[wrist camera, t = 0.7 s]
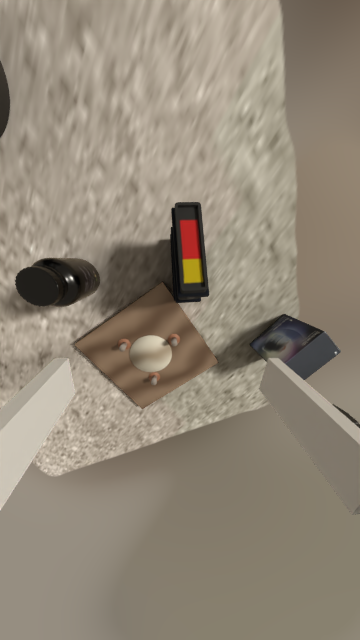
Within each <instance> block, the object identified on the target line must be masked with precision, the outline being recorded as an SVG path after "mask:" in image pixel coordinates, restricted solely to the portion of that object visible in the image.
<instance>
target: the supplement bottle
mask: <svg viewBox="0 0 360 640" xmlns="http://www.w3.org/2000/svg"><path fill="white" fill-rule="evenodd" d="M15 282H16V284H15V285H16V289H17V290H18V293H19V294H20V296H22V297H23V299H25V300H26V301H27V302H30V303H31V304H34V305H36V306H37V305H38V306H49V305H51V306H56V307H64V306H69V305H71V304H73V303H76V302H78V301H80V300H82V299H84V298H86V297H88V296H90V295H91V294H93V293H94V292H95V291H96V290H97V289H98V287H99V284H100V277H99V274H98V272H97V270H96V268H95V267H94V266H93V265H92V264H91V263H89V262H87V261H85V260H83V259H77V258H44V259H41V260H38V261H37V262H35V263H34V264H33V265H32V266H31V267H27V268H24V269H23V270H21V271H20V272H19V273H18V274H17V276H16V280H15Z"/></svg>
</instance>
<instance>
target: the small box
mask: <svg viewBox="0 0 360 640" xmlns="http://www.w3.org/2000/svg"><path fill="white" fill-rule="evenodd" d="M250 346H251V347H252V348H253V349H254V350H255V351H256V352H257V353H258V354H259V355H260V356H261V357H262V358H263V359H264V360H265V361H266V362H267V360H268V358H279V359H280V360H281V361H282V362H283V363H284V364H286V365H287V366H288V367H289V368H290V369H291V370H293V371H294V372H295V373H296V374H297V375H298V376H300V377H301V378H302V379H303V380H305V379H307V378H308V377H309V376H310V375H312V374H313V373H314V372H316V371H317V370H318V369H320V368H321V367H322V366H323V365H325V364H326V363H327V362H329V361H330V360H331V359H332V358H334V357H335V356H336V355H338V354H339V353H340V352H341V351H340V350H339V348H338V347H337V346H336V345H335V343H334V342H333V341H332V340H331V338H330V337H329V336H328V335H327V333H326V332H325V331H322V330H320V329H318V328H315V327H313V326H311V325H309V324H306V323H304V322H302V321H299V320H297V319H295V318H292V317H290V316H288V315H286V314H284V315H282V316H281V317H280V318H279V319H278V320H277V321H276V322H275V323H273V324H272V325H271V326H270V327H269V328H268V329H267V330H265V331H264V332H263V333H262V334H261V335H260V336H259V337H257V338H256V339H255V340H254V341H253V342H252V343H251V344H250Z"/></svg>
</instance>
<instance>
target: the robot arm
mask: <svg viewBox="0 0 360 640" xmlns="http://www.w3.org/2000/svg"><path fill="white" fill-rule="evenodd" d="M9 110H10V97H9V89H8V84H7V79H6V76H5V72H4V69H3V67H2V64H1V61H0V136H1V135H2V133H3V131H4V129H5V127H6V125H7V121H8V117H9ZM259 390H260V391H261V392H262V394H263V395H264V396H265V398H266V399H267V400H268V402H269V403H270V404H271V406H272V407H273V409H274V410H275V411H276V413H277V414H278V415H279V416H280V418H281V419H282V421H283V422H284V423H285V425H286V426H287V427H288V429H289V430H290V432H291V433H292V434H293V435H294V437H295V438H296V440H297V441H298V442H299V444H300V445H301V446H302V448H303V449H304V450H305V452H306V453H307V454H308V456H309V457H310V458H311V460H312V461H313V463H314V464H315V465H316V467H317V468H318V469H319V471H320V472H321V473H322V475H323V476H324V477H325V479H326V480H327V482H328V483H329V484H330V486H331V487H332V488H333V490H334V491H335V492H336V494H337V495H338V496H339V498H340V499H341V500H342V502H343V503H344V504H345V506H346V507H347V509H348V510H349V511H350V512H351V514H352V515H354V514H360V424H359V423H358V422H357V421H356V420H355V419H353V417H351V416H350V415H349V414H348V413H346V412H345V411H343V410H341V409H340V408H338V407H337V406H335V405H333V404H331V403H329V402H328V401H327V400H326V399H325V398H324V397H323V396H321V395H320V394H319V393H318V392H317V391H316V390H315V389H313V388H312V387H311V386H310V385H309V384H308V383H306V382H305V381H304V380H303V379H302V378H301V377H300V376H298V375H297V374H296V373H295V372H294V371H293V370H291V369H290V368H289V367H288V366H287V365H286V364H284V363H283V362H282V361H281V360H280V359H279V358H268V360H267V364H266V367H265V371H264V374H263V377H262V381H261V384H260V388H259ZM74 395H75V389H74V383H73V378H72V373H71V368H70V362H69V358H54V359H53V360H52V361H51V362H50V363H49V364H48V365H47V366H46V367H45V368H44V369H43V370H42V371H41V372H39V373H38V374H37V375H36V376H35V377H34V378H33V379H32V380H31V381H30V382H29V383H28V384H27V385H26V386H25V387H23V388H22V389H21V390H20V391H19V392H18V393H17V394H16V395H15V396H14V397H13V398H12V399H11V400H10V401H8V402H7V403H6V404H5V405H4V406H3V407H2V408H1V409H0V510H1V508H2V507H3V506H4V504H5V502H6V501H7V499H8V498H9V496H10V495H11V493H12V491H13V490H14V488H15V487H16V485H17V484H18V482H19V481H20V479H21V477H22V476H23V474H24V473H25V471H26V470H27V468H28V467H29V465H30V463H31V462H32V460H33V459H34V457H35V456H36V454H37V452H38V451H39V449H40V448H41V446H42V445H43V443H44V442H45V440H46V438H47V437H48V435H49V434H50V432H51V431H52V429H53V427H54V426H55V424H56V423H57V421H58V420H59V418H60V417H61V415H62V413H63V412H64V410H65V409H66V407H67V406H68V404H69V402H70V401H71V399H72V398H73V396H74Z"/></svg>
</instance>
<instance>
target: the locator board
mask: <svg viewBox="0 0 360 640" xmlns="http://www.w3.org/2000/svg"><path fill="white" fill-rule="evenodd" d="M75 346H76V347H77V348H78V349H79V350H80V351H81V352H82V353H84V354H85V355H86V356H87V357H88V358H89V359H90V360H91V361H92V362H93V363H94V364H95V365H96V366H97V367H98V368H99V369H100V370H101V371H103V372H104V373H105V374H106V375H107V376H108V377H109V378H110V379H111V380H112V381H113V382H114V383H115V384H116V385H117V386H118V387H119V388H121V389H122V390H123V391H124V392H125V393H126V394H127V395H128V396H129V397H130V398H131V399H132V400H133V401H134V402H135V403H136V404H137V405H138V406H140V407H141V408H142V409H143V408H145V407H146V406H148V405H150V404H151V403H153V402H155V401H156V400H158V399H160V398H161V397H163V396H164V395H166V394H168V393H169V392H171V391H173V390H174V389H176V388H178V387H179V386H181V385H183V384H184V383H186V382H187V381H189V380H191V379H192V378H194V377H196V376H197V375H199V374H201V373H202V372H204V371H206V370H207V369H209V368H210V367H212V366H214V365H215V364H217V363H219V362H218V360H217V359H216V357H215V356H214V354H213V353H212V351H211V350H210V349H209V347H208V346H207V344H206V343H205V341H204V340H203V339H202V337H201V336H200V334H199V333H198V331H197V330H196V328H195V327H194V326H193V324H192V323H191V321H190V320H189V318H188V317H187V316H186V314H185V313H184V311H183V310H182V308H181V307H180V306H179V304H178V303H176V301H174V297H173V295H172V294H171V293H170V291H169V290H168V288H167V287H166V285H165V284H164V283H163V282H162V283H160V284H159V285H157V286H156V287H154V288H153V289H152V290H150V291H149V292H147V293H146V294H144V295H143V296H142V297H140V298H139V299H137V300H136V301H135V302H133V303H132V304H130V305H129V306H127V307H126V308H125V309H123V310H122V311H120V312H119V313H118V314H116V315H115V316H113V317H112V318H110V319H109V320H108V321H106V322H105V323H103V324H102V325H100V326H99V327H98V328H96V329H95V330H93V331H92V332H91V333H89V334H88V335H86V336H85V337H83V338H82V339H81V340H79V341H78V342H77V343H76V344H75Z"/></svg>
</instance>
